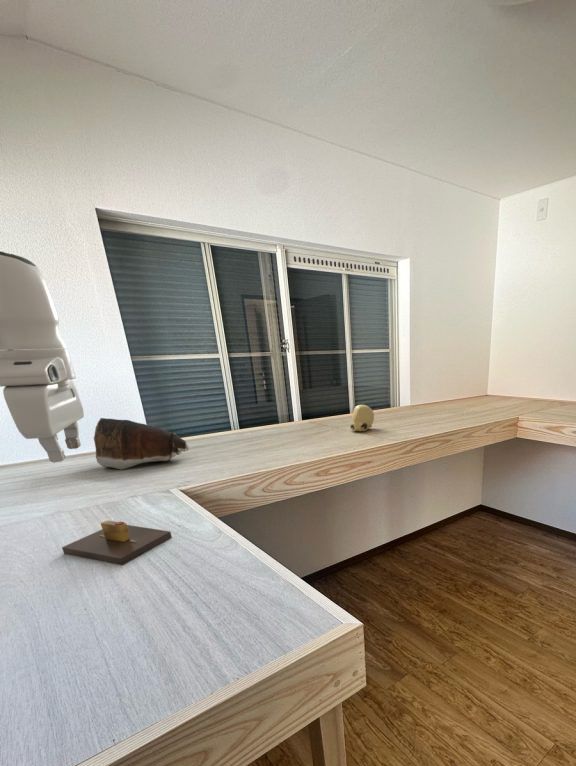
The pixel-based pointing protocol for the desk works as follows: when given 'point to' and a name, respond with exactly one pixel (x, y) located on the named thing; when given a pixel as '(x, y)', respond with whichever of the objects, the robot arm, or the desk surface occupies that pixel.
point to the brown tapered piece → (134, 443)
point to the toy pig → (362, 418)
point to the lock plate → (117, 545)
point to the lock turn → (115, 531)
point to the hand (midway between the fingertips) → (67, 454)
